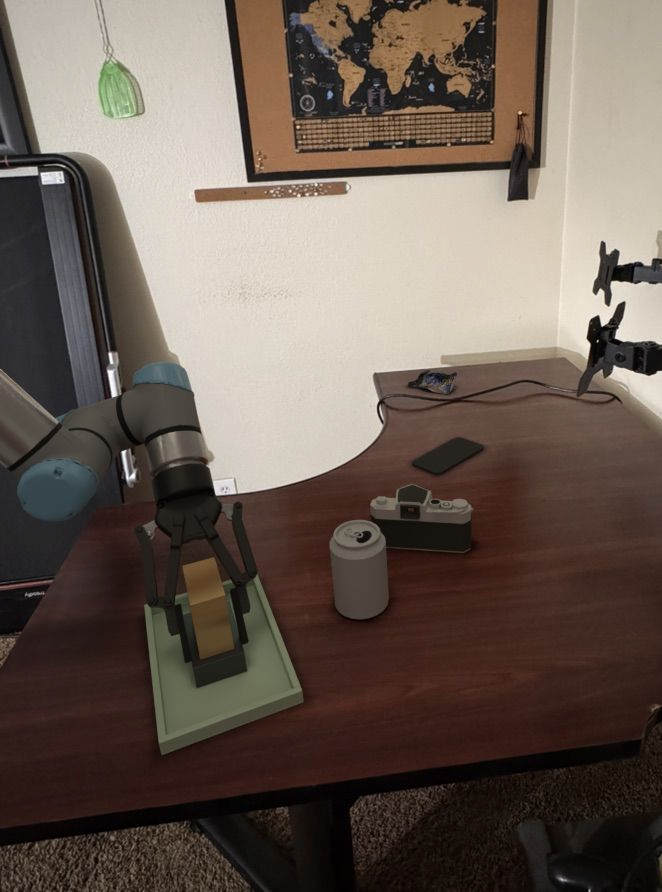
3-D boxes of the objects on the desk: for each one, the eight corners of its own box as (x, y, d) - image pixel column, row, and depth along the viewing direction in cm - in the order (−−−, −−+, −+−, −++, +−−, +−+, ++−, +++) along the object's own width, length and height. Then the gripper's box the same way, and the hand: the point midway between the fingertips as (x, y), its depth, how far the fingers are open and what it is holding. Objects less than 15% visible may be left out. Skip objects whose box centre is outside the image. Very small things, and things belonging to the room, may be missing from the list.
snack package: (415, 400, 156) (461, 393, 157) (413, 375, 154) (459, 368, 156) (405, 391, 167) (448, 385, 169) (403, 367, 166) (446, 361, 168)
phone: (409, 462, 123) (457, 435, 133) (409, 465, 124) (457, 439, 133) (438, 474, 118) (486, 445, 128) (438, 478, 119) (486, 449, 128)
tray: (146, 616, 87) (144, 604, 86) (258, 583, 92) (256, 571, 92) (162, 757, 66) (158, 743, 66) (304, 704, 72) (302, 690, 71)
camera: (474, 526, 103) (475, 472, 100) (472, 558, 95) (472, 501, 92) (379, 520, 106) (376, 468, 103) (369, 551, 98) (366, 496, 95)
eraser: (186, 633, 83) (173, 563, 79) (232, 618, 85) (221, 550, 81) (196, 688, 74) (181, 613, 70) (247, 671, 76) (235, 597, 72)
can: (377, 629, 82) (372, 552, 78) (326, 617, 85) (318, 542, 81) (396, 593, 89) (393, 520, 85) (347, 583, 91) (342, 512, 87)
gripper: (249, 465, 90) (290, 630, 82) (107, 497, 83) (136, 680, 75) (253, 446, 84) (297, 624, 75) (99, 479, 77) (129, 678, 68)
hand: (217, 652), depth 75 cm, fingers closed on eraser, 6 cm apart
